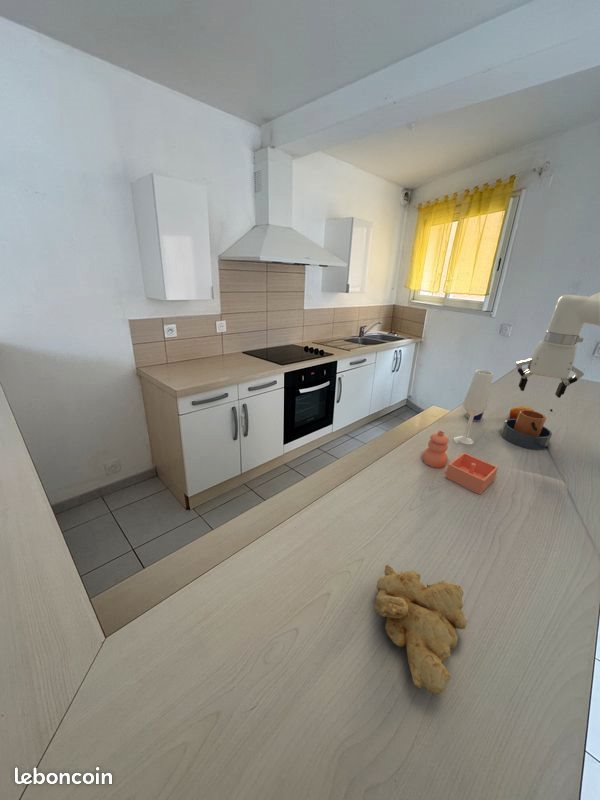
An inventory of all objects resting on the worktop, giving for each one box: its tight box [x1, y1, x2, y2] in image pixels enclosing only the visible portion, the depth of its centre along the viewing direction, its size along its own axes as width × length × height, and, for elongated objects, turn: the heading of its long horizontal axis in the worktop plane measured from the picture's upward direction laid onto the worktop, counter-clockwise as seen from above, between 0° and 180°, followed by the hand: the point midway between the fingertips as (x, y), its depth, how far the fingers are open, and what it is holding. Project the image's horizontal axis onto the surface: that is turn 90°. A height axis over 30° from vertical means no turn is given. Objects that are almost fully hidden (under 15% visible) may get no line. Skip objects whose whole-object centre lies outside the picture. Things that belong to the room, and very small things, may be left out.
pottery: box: [422, 430, 499, 495], centre depth 88 cm, size 18×10×10 cm, turn 42°
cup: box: [514, 409, 547, 437], centre depth 104 cm, size 7×12×9 cm, turn 155°
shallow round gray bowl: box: [500, 418, 553, 451], centre depth 107 cm, size 13×13×5 cm
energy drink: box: [465, 411, 485, 423], centre depth 119 cm, size 5×5×12 cm
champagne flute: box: [453, 369, 494, 445], centre depth 101 cm, size 7×7×24 cm
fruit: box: [508, 405, 535, 419], centre depth 119 cm, size 8×8×8 cm
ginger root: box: [374, 564, 467, 695], centre depth 49 cm, size 16×16×8 cm
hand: (539, 392), depth 101 cm, fingers open, 9 cm apart
